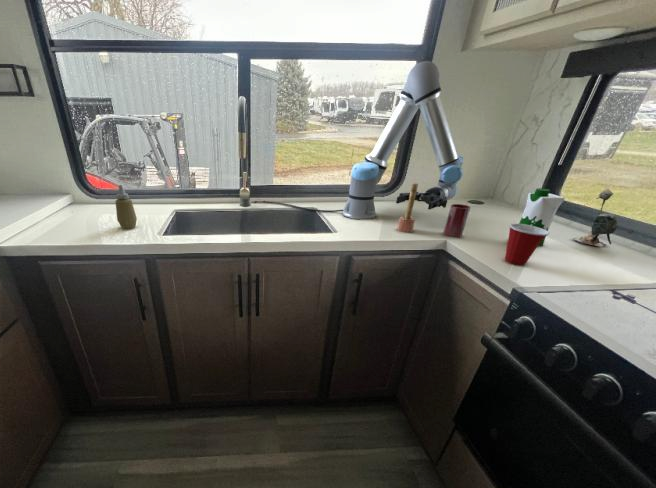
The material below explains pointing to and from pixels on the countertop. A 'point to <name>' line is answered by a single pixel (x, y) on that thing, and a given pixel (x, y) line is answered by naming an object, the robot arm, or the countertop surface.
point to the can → (456, 220)
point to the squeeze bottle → (125, 210)
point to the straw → (411, 200)
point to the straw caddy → (406, 224)
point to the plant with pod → (601, 224)
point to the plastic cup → (523, 242)
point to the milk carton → (541, 209)
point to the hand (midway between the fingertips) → (412, 203)
